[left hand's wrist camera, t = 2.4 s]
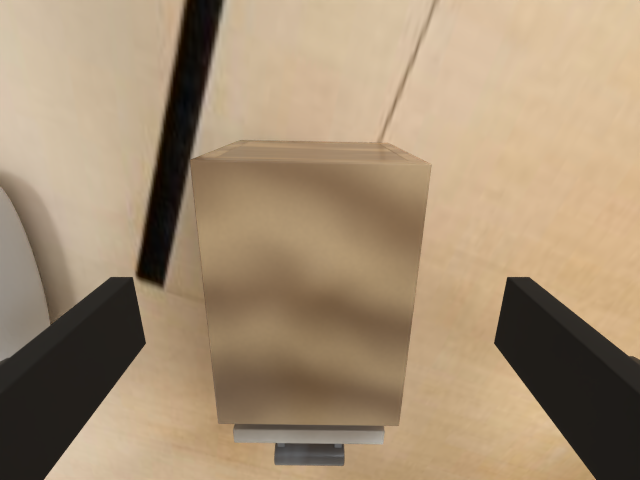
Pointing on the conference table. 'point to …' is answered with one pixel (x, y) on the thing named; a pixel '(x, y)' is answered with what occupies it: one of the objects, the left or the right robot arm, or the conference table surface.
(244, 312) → the cabinet
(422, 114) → the conference table surface
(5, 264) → the projector
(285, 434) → the drawer
